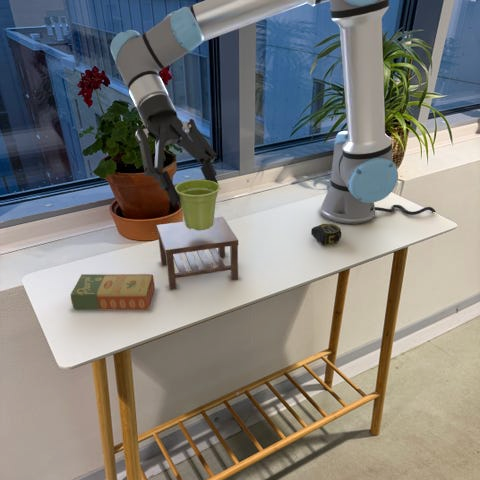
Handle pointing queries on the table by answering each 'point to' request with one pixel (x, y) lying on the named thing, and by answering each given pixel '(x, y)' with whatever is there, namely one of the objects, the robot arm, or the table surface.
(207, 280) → the table surface
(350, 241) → the table surface
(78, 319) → the table surface
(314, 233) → the tape measure
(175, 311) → the table surface
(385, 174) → the robot arm
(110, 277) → the carton
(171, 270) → the coffee table
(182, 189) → the plant pot
